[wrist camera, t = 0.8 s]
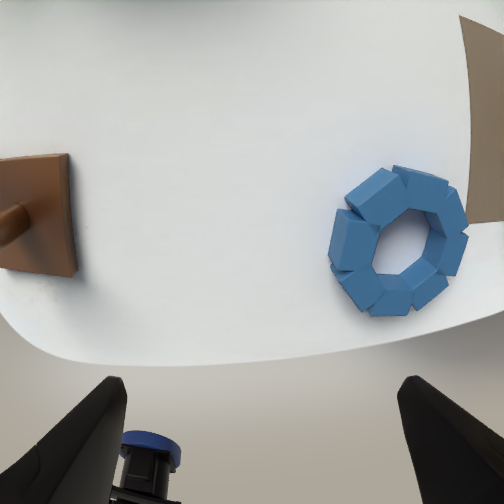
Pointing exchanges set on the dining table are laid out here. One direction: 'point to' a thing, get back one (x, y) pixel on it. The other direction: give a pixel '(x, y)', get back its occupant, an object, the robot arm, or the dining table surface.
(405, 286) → the blue ring
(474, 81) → the platform
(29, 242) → the peg stand
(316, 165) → the dining table surface
